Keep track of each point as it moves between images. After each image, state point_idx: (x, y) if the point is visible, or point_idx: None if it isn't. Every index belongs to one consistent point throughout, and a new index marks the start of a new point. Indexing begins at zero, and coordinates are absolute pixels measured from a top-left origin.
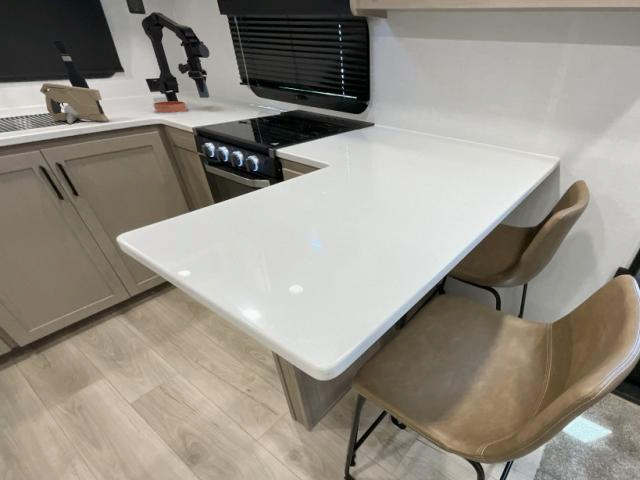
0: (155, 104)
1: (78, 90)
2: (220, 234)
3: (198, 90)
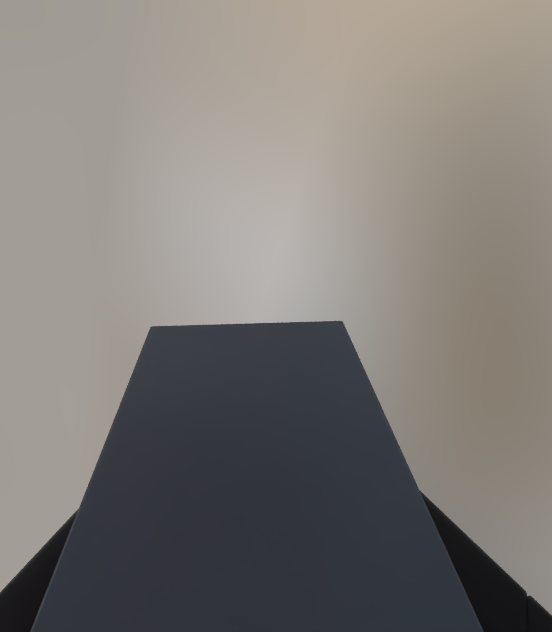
0: None
1: None
2: None
3: (115, 445)
